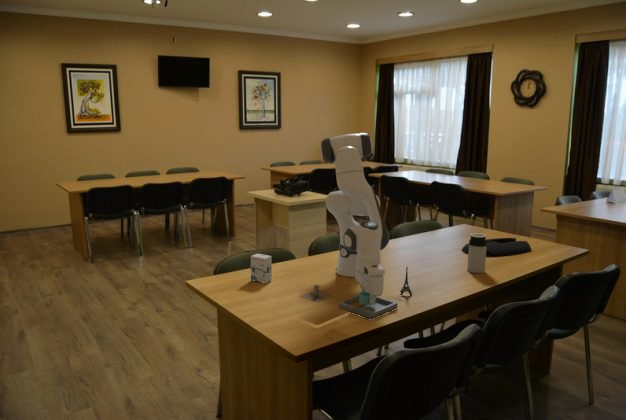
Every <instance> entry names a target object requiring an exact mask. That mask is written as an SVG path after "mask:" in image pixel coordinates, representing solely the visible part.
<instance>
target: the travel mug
mask: <svg viewBox="0 0 626 420" xmlns="http://www.w3.org/2000/svg"><path fill="white" fill-rule="evenodd" d="M469 236H470V239H469V241H468V244H469V252H468V254H467V255H468V256H467V271H468V272H470V273H471V274H483V273H485V272H486V259H487V257H486V246H487V242H486V238H487V234H485V233H481V232H480V233H478V232H472V233H470V234H469Z"/></svg>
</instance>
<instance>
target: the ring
mask: <svg viewBox="0 0 626 420" xmlns="http://www.w3.org/2000/svg"><path fill="white" fill-rule="evenodd" d="M358 295H359V300H358V302H359V304H361V305H372V304H370V303H369V298H370V293H369V292H368V291H367V290H366V291H364V292H361V291H360V292H359V294H358ZM375 303H376V297H375V301H374V304H375Z"/></svg>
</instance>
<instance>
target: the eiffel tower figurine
mask: <svg viewBox="0 0 626 420" xmlns="http://www.w3.org/2000/svg"><path fill="white" fill-rule="evenodd" d="M408 274H409V273H408V266H406V272H405V279H404V280H405V281H404V284H403V286H402V288H401V291H400V292H401V294H400V295H402V294H403V293H404V292H409V294H410V296H412V295H413V292H412V290H411V289H410V288H411V287H410V286H409V280H408V279H409V277H408ZM411 293H412V294H411ZM400 295H399V296H400Z"/></svg>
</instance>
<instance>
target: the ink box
mask: <svg viewBox="0 0 626 420" xmlns="http://www.w3.org/2000/svg"><path fill="white" fill-rule="evenodd" d="M272 258H273V257H272V256H271V255H267V254H263V253H255V254H252V255H251V256H250V281H251V280H255V281H259V282H264V283H266V282H269V281H271V280H272V279H273V278H272V275H273V274H272V266H273V264H272ZM255 281H254V282H255ZM259 282H258V283H259ZM271 282H272V281H271ZM264 283H263V284H264ZM269 283H270V282H269ZM266 284H267V283H266Z"/></svg>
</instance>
